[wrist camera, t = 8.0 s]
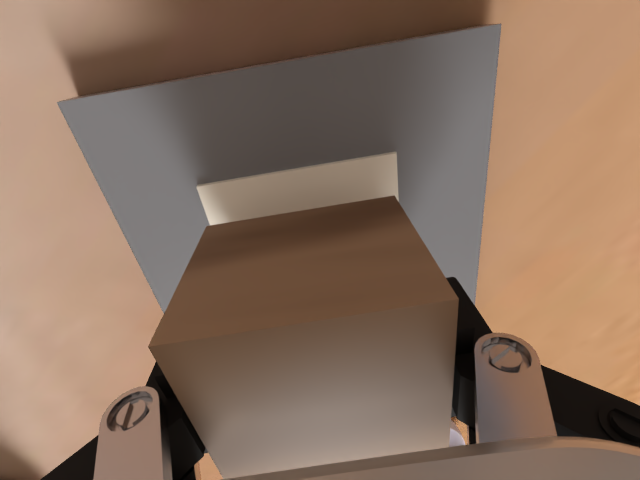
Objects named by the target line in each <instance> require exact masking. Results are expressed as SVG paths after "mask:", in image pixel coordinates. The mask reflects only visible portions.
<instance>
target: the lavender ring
mask: <svg viewBox="0 0 640 480" xmlns="http://www.w3.org/2000/svg"><path fill="white" fill-rule="evenodd" d="M461 445H465V442H464V439H463V437H462V435H461V433H460V431H459V429H458V428H457V426H456V425H455V423H454V422H453V421H452V420H451V426H450V442H449V447H454V446H461Z"/></svg>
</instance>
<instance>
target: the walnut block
mask: <svg viewBox="0 0 640 480" xmlns="http://www.w3.org/2000/svg"><path fill="white" fill-rule="evenodd" d="M458 303H459V298H458V297H457V295H456V294H455V292H454V290H453V289H452V287H451V286H450V284H449V282H448V281H447V279H446V277H445V276H444V274H443V273H442V271H441V269H440V268H439V266H438V265H437V263H436V261H435V260H434V258H433V257H432V255H431V253H430V252H429V250H428V248H427V247H426V245H425V244H424V242H423V240H422V239H421V237H420V236H419V234H418V232H417V231H416V229H415V228H414V226H413V224H412V223H411V221H410V219H409V218H408V216H407V215H406V213H405V211H404V210H403V208H402V207H401V205H400V203H399V202H398V200H397V199H396V197H395V195H394V196H387V197H381V198H375V199H369V200H363V201H357V202H351V203H345V204H338V205H332V206H326V207H320V208H314V209H308V210H302V211H295V212H289V213H283V214H277V215H271V216H265V217H259V218H253V219H246V220H240V221H234V222H228V223H222V224H216V225H210V226H206V228H205V230H204V232H203V234H202V236H201V238H200V240H199V242H198V244H197V247H196V249H195V251H194V253H193V255H192V257H191V259H190V261H189V263H188V265H187V267H186V269H185V271H184V273H183V276H182V278H181V280H180V282H179V284H178V286H177V288H176V290H175V292H174V294H173V296H172V298H171V300H170V303H169V305H168V307H167V309H166V311H165V313H164V315H163V317H162V319H161V321H160V323H159V325H158V327H157V329H156V332H155V334H154V336H153V338H152V340H151V342H150V344H149V346H148V347H149V349H150V351H151V353H152V354H153V356H154V358H155V360H156V361H157V363H158V365H159V367H160V368H161V370H162V372H163V374H164V375H165V377H166V379H167V381H168V382H169V384H170V386H171V388H172V390H173V391H174V393H175V395H176V397H177V398H178V400H179V402H180V404H181V405H182V407H183V409H184V411H185V412H186V414H187V416H188V418H189V419H190V421H191V423H192V425H193V426H194V428H195V430H196V432H197V433H198V435H199V437H200V439H201V440H202V442H203V444H204V446H205V447H206V449H207V451H208V453H209V454H210V456H211V458H212V460H213V461H214V463H215V465H216V467H217V468H218V470H219V472H220V474H221V475H222V477H223V479H229V478H236V477H242V476H249V475H256V474H263V473H269V472H276V471H283V470H290V469H297V468H304V467H311V466H318V465H325V464H332V463H339V462H346V461H353V460H360V459H367V458H374V457H381V456H389V455H396V454H403V453H410V452H417V451H425V450H432V449H439V448H446V447H449V442H450V426H451V411H452V396H453V380H454V365H455V349H456V334H457V318H458Z"/></svg>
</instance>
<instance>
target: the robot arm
mask: <svg viewBox="0 0 640 480" xmlns="http://www.w3.org/2000/svg"><path fill="white" fill-rule="evenodd" d="M446 279H447V281H448V282H449V284H450V286H451V287H452V289H453V290H454V292H455V294H456V295H457V297H458V298H459V303H458V318H457V334H456V349H455V365H454V380H453V396H452V411H451V417H455V416H456V417H457V419H458V420H460V421H461V422H463V423H465V424H467V445H461V446H454V447H446V448H439V449H432V450H425V451H417V452H410V453H403V454H396V455H389V456H381V457H374V458H367V459H360V460H353V461H346V462H339V463H332V464H325V465H318V466H311V467H304V468H297V469H290V470H283V471H276V472H269V473H263V474H256V475H249V476H242V477H236V478H229V479H222V480H640V406H639V405H637V404H635V403H633V402H630V401H628V400H625V399H623V398H620V397H618V396H615V395H613V394H611V393H608V392H606V391H603V390H601V389H598V388H596V387H594V386H591V385H589V384H586V383H584V382H581V381H579V380H576V379H574V378H572V377H569V376H567V375H564V374H562V373H559V372H557V371H555V370H552V369H550V368H547V367H545V366H542V365H540V360H539V357H538V355H537V353H536V351H535V350H534V349H533V347H532V346H531V345H530V344H528V343H527V342H526V341H524V340H523V339H521V338H518V337H516V336H514V335H510V334H506V333H492V331H491V330H490V328H489V326H488V325H487V323H486V322H485V320H484V319H483V317H482V316H481V314H480V313H479V311H478V310H477V308H476V307H475V305H474V304H473V302H472V301H471V299H470V298H469V296H468V295H467V293H466V292H465V290H464V289H463V287H462V286H461V284H460V283H459V281H458V280H457V279H456V278H455V277H448V278H446ZM204 453H208V451H207V449H206V447H205V446H204V444H203V442H202V440H201V439H200V437H199V435H198V433H197V432H196V430H195V428H194V426H193V425H192V423H191V421H190V419H189V418H188V416H187V414H186V412H185V411H184V409H183V407H182V405H181V404H180V402H179V400H178V398H177V397H176V395H175V393H174V391H173V390H172V388H171V386H170V384H169V382H168V381H167V379H166V377H165V375H164V374H163V372H162V370H161V368H160V367H159V365H158V363H157V361H156V363H155V366H154V368H153V370H152V372H151V375H150V377H149V379H148V382H147V384H146V386H143V387H137V388H134V389H131V390H129V391H127V392H125V393H123V394H122V395H120V396H119V397H118V398H117V399H115V400H114V401H113V402H112V403H111V404H110V406H109V407H108V408H107V409H106V411H105V412H104V414H103V416H102V419H101V422H100V427H99V435H98V436H97V437H95V438H94V439H93V440H91V441H90V442H89V443H87V444H86V445H85V446H84V447H82V448H81V449H80V450H78V451H77V452H76V453H74V454H73V455H72V456H71V457H69V458H68V459H67V460H65V461H64V462H63V463H61V464H60V465H59V466H58V467H56V468H55V469H54V470H52V471H51V472H50V473H49V474H47V475H46V476H45V477H43V478H42V479H41V480H201V474H200V467H199V462H198V461H199V460H200V459H201V458H202V457H203V456H204Z"/></svg>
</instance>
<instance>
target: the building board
mask: <svg viewBox="0 0 640 480" xmlns="http://www.w3.org/2000/svg"><path fill="white" fill-rule="evenodd" d="M500 33H501V24H489V25H480V26H474V27H468V28H463V29H457V30H451V31H446V32H440V33H435V34H429V35H423V36H418V37H412V38H406V39H401V40H395V41H389V42H384V43H378V44H372V45H367V46H361V47H355V48H350V49H344V50H338V51H333V52H327V53H322V54H316V55H310V56H305V57H299V58H293V59H288V60H282V61H276V62H271V63H265V64H259V65H254V66H248V67H242V68H237V69H231V70H225V71H220V72H214V73H209V74H203V75H197V76H192V77H186V78H180V79H175V80H169V81H163V82H158V83H152V84H146V85H141V86H135V87H129V88H124V89H118V90H112V91H107V92H101V93H96V94H90V95H84V96H79V97H74V98H71V99H67V100H63V101H60V102H57V104H58V106H59V108H60V110H61V112H62V114H63V116H64V118H65V120H66V121H67V123H68V125H69V127H70V129H71V131H72V133H73V135H74V137H75V139H76V141H77V143H78V145H79V147H80V149H81V151H82V153H83V155H84V157H85V159H86V161H87V163H88V165H89V167H90V169H91V171H92V173H93V175H94V177H95V179H96V181H97V183H98V185H99V187H100V189H101V191H102V192H103V194H104V196H105V198H106V200H107V202H108V204H109V206H110V208H111V210H112V212H113V214H114V216H115V218H116V220H117V222H118V224H119V226H120V228H121V230H122V232H123V234H124V236H125V238H126V240H127V242H128V244H129V246H130V248H131V250H132V252H133V254H134V256H135V258H136V260H137V261H138V263H139V265H140V267H141V269H142V271H143V273H144V275H145V277H146V279H147V281H148V283H149V285H150V287H151V289H152V291H153V293H154V295H155V297H156V299H157V301H158V303H159V305H160V307H161V309H162V311H163V313H165V311H166V309H167V307H168V305H169V303H170V300H171V298H172V296H173V294H174V292H175V290H176V288H177V286H178V284H179V282H180V280H181V278H182V276H183V273H184V271H185V269H186V267H187V265H188V263H189V261H190V259H191V257H192V255H193V253H194V251H195V249H196V247H197V244H198V242H199V240H200V238H201V236H202V234H203V232H204V230H205V228H206V226H210V225H216V224H222V223H228V222H234V221H240V220H246V219H253V218H259V217H265V216H271V215H277V214H283V213H289V212H295V211H302V210H308V209H314V208H320V207H326V206H332V205H338V204H345V203H351V202H357V201H363V200H369V199H375V198H381V197H387V196H394V195H395V197H396V199H397V200H398V202H399V203H400V205H401V207H402V208H403V210H404V211H405V213H406V215H407V216H408V218H409V219H410V221H411V223H412V224H413V226H414V228H415V229H416V231H417V232H418V234H419V236H420V237H421V239H422V240H423V242H424V244H425V245H426V247H427V248H428V250H429V252H430V253H431V255H432V257H433V258H434V260H435V261H436V263H437V265H438V266H439V268H440V269H441V271H442V273H443V274H444V276H445V277H446V278H448V277H455V278H456V279H457V280H458V281H459V283H460V284H461V286H462V287H463V289H464V290H465V292H466V293H467V295H468V296H469V298H470V299H471V301H472V302H473V304H474V305H475V297H476V286H477V276H478V265H479V255H480V244H481V234H482V223H483V212H484V202H485V191H486V181H487V170H488V160H489V149H490V139H491V128H492V117H493V107H494V96H495V86H496V75H497V65H498V54H499V43H500Z"/></svg>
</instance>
